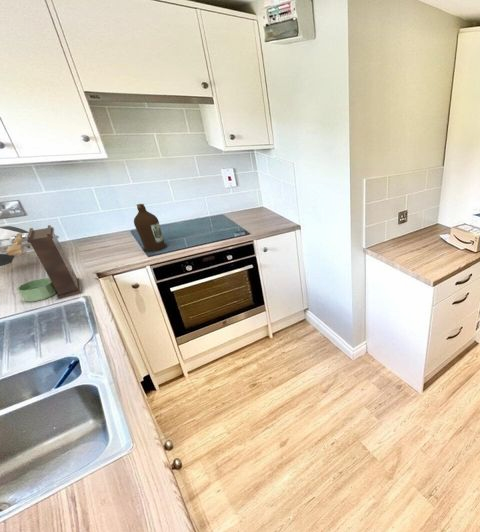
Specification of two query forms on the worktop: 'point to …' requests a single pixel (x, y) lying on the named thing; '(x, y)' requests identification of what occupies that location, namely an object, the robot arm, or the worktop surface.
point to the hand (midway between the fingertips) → (18, 236)
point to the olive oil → (149, 229)
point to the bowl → (37, 289)
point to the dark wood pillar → (54, 261)
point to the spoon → (16, 246)
